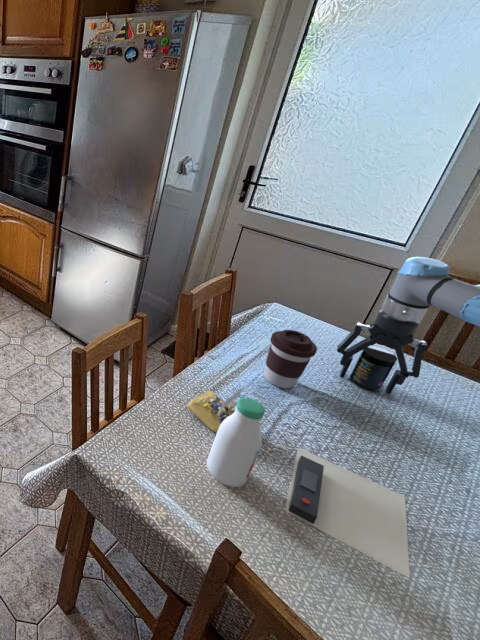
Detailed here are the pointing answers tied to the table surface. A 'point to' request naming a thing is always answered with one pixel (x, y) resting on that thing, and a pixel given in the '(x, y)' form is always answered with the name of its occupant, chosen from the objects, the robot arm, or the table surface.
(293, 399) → the table surface
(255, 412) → the milk bottle
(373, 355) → the supplement container
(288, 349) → the coffee cup
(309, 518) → the remote
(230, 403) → the yellow snack bag
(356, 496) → the scale
